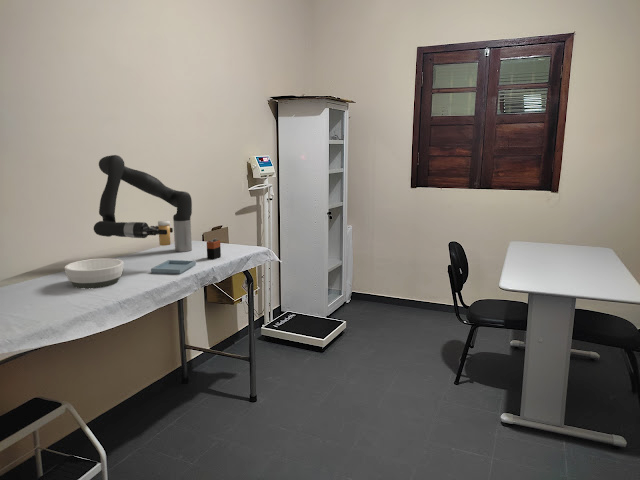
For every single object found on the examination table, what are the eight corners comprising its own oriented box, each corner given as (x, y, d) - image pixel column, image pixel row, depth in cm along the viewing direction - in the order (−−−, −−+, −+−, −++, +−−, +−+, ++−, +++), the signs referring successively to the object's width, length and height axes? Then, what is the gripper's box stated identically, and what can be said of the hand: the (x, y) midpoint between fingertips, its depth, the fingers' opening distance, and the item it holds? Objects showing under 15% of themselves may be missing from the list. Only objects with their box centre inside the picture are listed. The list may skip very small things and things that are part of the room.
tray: (168, 264, 236) (168, 259, 236) (195, 265, 234) (195, 260, 234) (151, 273, 219) (150, 268, 219) (180, 274, 217) (179, 269, 217)
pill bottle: (162, 243, 230) (161, 220, 228) (173, 243, 229) (171, 220, 227) (156, 245, 225) (155, 222, 223) (167, 245, 224) (166, 222, 222)
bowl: (102, 292, 189) (101, 272, 188) (53, 289, 194) (51, 269, 192) (135, 278, 211) (134, 259, 210) (90, 275, 216) (88, 257, 214)
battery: (221, 257, 253) (220, 238, 251) (213, 259, 247) (213, 240, 245) (214, 256, 255) (213, 237, 253) (206, 259, 248) (206, 240, 246)
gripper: (127, 224, 221) (162, 225, 218) (143, 220, 234) (176, 221, 232) (128, 240, 222) (162, 241, 219) (144, 235, 236) (177, 236, 233)
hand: (169, 231), depth 226 cm, fingers closed on pill bottle, 5 cm apart
